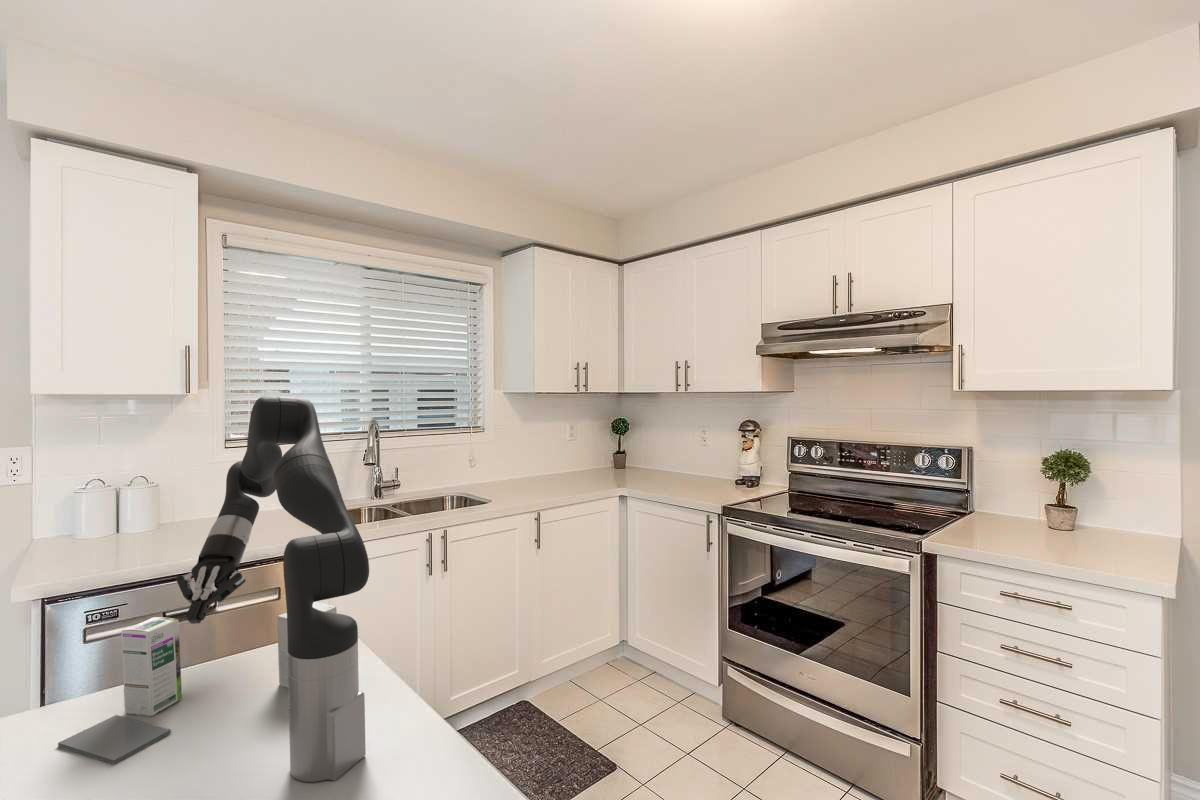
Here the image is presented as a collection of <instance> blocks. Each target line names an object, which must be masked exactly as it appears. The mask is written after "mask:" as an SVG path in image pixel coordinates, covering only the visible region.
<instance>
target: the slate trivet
mask: <svg viewBox="0 0 1200 800" xmlns="http://www.w3.org/2000/svg"><path fill="white" fill-rule="evenodd" d="M171 731H172V730H171V728H165V727H162V726H158V725H155V724H152V723H151V724H150V723H147V722H144V721H140V720H136V719H133V718H129V717H127V716H123V715H119V714H115V715H113V716H112V717H109V718H107V719H105V720H102V721H101V722H99V723H97V724H95V725H92V726H90V727H89V728H86V729H84V730H82V731H79V732H78V733H76V734H74V735H71V736H69V737H67V738H65V739H63V740H61V741H58V743H57V745H58V746H57V747H59V748H61V749H64V750H68V751H71V752H74V753H77V754H80V755H83V756H87V757H90V758H92V759H97V760H100V761H102V762H105V763H108V764H112V765H116V764H118V763H120V762H121V761H123V760H126V758H129V757H130V756H133V755H134V754H135V753H137V752H139V751H141V750H143V749H145V748H147V747H148V745H149V746H151V745H152V744H155V743H156V742H158V741H160V740H161V739H163V738H165V737H167V736H168V735H171V734H172V732H171ZM170 733H171V734H170ZM150 744H151V745H150ZM146 746H147V747H146Z"/></svg>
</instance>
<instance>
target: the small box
mask: <svg viewBox="0 0 1200 800" xmlns="http://www.w3.org/2000/svg"><path fill="white" fill-rule="evenodd" d="M312 607H313V608H315V609H317V610H320V611H323V612H328V613H337V606H334V605H330V604H327V603H323V602H320V601H316V602H313V605H312ZM276 619H277V620H276V621H277V622H276V623H277V651H278V655H277V657H278V676H279V677H278V682H279V686H281V687H284V686H285V687H284V688H288V689H289V686H288V635H287V612H284V613H282V614H279V615H277V617H276Z"/></svg>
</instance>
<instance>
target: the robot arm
mask: <svg viewBox="0 0 1200 800" xmlns="http://www.w3.org/2000/svg"><path fill="white" fill-rule="evenodd" d="M249 416H250V417H249V425H248V433H247V442H246V443H247V445H246V450H245V454H244V456H243V458H242V460H239V461H236V462H235V463H233V464H232V465H231V466H230V468H229V469H228V471H227V473H226V474H227V475H226V479H225V482H226V484H225V496H224V501H223V504H222V507H221V508H220V511H219V513H218V516H217V517H216V520H215V522H214V523H213V525H212V526H211V528H210V530H209V533H208V535H207V537H206V539H205V542H204V543H203V546H202V548H201V550H200V553H199V555H198V560H197V563H196V564H195V565H194V566H193V567H192V568H191V569H190V570H191V571H190V572H188V573H186V574H185V575H182V574H178V576H176V577H175V581H176V582H177V584H178V587H179V589H180V591H181V593H182V596H183V597H184V599H185V600H186V601H188V602H189V604H190V606H189V608H188V610H187V613H186V615H185V617H186V619H187V621H188V622H189V623H190V624H192V625H194V624H196V625H197V624H200V623H201V622H202V621H204V620H205V618H206V616H207V614H208V611H209V609H210V606H211V605H212V604H213V603H216V602H217V603H221V602H223V601H224V600H225V599H227V597H229V596H230V595H232V593H234V592H235V591H237V590H238V588H240V587H241V586H242V585H244V584H245V583H246V582H247V581H246V577H244V575H243V574H242V573H241V572H239V568H238V567H239V566H240V563H241V561H242V558H243V556H244V553H245V551H246V548H247V546H248V544H249V541H250V537H251V534H252V529H253V526H254V524H255V521H256V519H257V517H258V514H259V510H260V504H259V503H258V501H257V500H256V499H254V498H253V497H256V498H257V497H258V498H267V497H270V496H271V495H273V494H274V493H275V492H276V494H277V498H278V502H279V503H280V505H281V507H282V508H283V510H285V511H286V512H287V513H288V514H289V515H290V516H292V517H293V518H294V519H296V520H298V521H300V522H301V523H303V524H305V525H307V526H308V527H310V528H312V529H314V530H316V531H317V532H319V533H320V534H317V535H308V536H301V537H296V538H294V539H291V540H290V541H288V542H287V544H286V546H285V548H284V553H283V559H282V560H283V579H284V580H283V582H284V591H285V592H284V593H285V594H284V595H285V604H286V613H287V635H288V686H289V688H288V727H289V728H288V729H289V730H288V731H289V734H288V735H289V758H290V759H289V767H290V768H289V769H290V774H291V776H292V777H293V778H294V779H296V780H297V781H300V782H305V783H306V782H307V783H308V782H309V783H314V782H320V781H327V780H328V781H336V780H337V779H339V778H340V777H341V776H342V775H344V774H345V773H346V772H348V771H349V769H351V768H353V766H355V765H356V764H357V763H358V762H359V761H360V760H362V759H363V758H365V756H366V755H367V754H366V753H367V752H366V751H367V750H366V749H367V748H366V709H365V708H366V707H365V706H366V705H365V704H366V703H365V702H366V700H365V692H363V691H360V690H359V689H360V688H359V687H360V686H359V684H360V681H359V680H360V679H359V636H358V635H359V632H358V631H359V630H358V623H357V622H356V620H355V619H354V618H353V617H352V616H350V615H347V614H341V613H337V612H336V613H328V612H323V611H320V610H317V609H315V608H313V607H312V605H313V602H320V601H325V600H330V599H335V598H339V597H344V596H348V595H352V594H355V593H357V592H359V591H361V590H362V589H364V588H365V586H366V585H367V583H368V580H369V577H370V562H369V557H368V553H367V549H366V545H365V543H364V541H363V538H362V536H361V534H360V531H359V530H358V528H357V526H356V525H355V522H354V521H353V519H352V517H351V515H350V513H349V511H348V509H347V507H346V504H345V502H344V499H343V496H342V492H341V490H340V486H339V484H338V480H337V477H336V473H335V470H334V469H333V468H334V467H333V465H332V463H331V461H330V459H329V456H328V454H327V452H326V448H325V445H324V443H323V439H322V435H321V434H322V433H321V430H320V425H319V420H318V416H317V412H316V408H315V406H314V404H313V402H311V401H310V400H309V399H307V398H304V397H293V396H274V395H273V396H271V395H268V396H262V397H259V398H258V399H256V401H255V402H254V404H253V405H252V407H251V411H250V415H249ZM280 444H281V445H283V444H284V445H285V444H286V445H289V444H290V445H292V444H293V446H291V447H290V448H289V449H288V450H287V451H285V453H284V454H283V453H282V451H283V450H282V448H281V446H280ZM249 495H250V496H249ZM251 496H253V497H251ZM193 581H194V583H195V585H194V591H193V589H192V587H191V586H193Z"/></svg>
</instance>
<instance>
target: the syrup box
mask: <svg viewBox="0 0 1200 800" xmlns="http://www.w3.org/2000/svg"><path fill="white" fill-rule="evenodd" d="M120 633H121V634H120V636H121V637H120V638H121V641H120V642H121V659H122V661H121V663H122V676H123V678H122V679H123V680H122V681H123V696H124V697H123V700H124V713H126V714H129V715H133V714H137V715H136V716H141V715H147V716H146V717H150V716H152V717H154V716H155V715H157V714H158V713H160V712H161V711H163V710H164V709H166V708H168V707H170V706H172V705H173V704H175V703H177V702H179V701H181V700H182V699H183V695H182V693H183V692H182V671H181V669H182V668H181V666H182V665H181V650H180V649H181V648H180V646H181V645H180V643H181V642H180V623H179V619H178V618H174V617H173V618H172V617H167V616H166V617H164V616H160V617H159V616H157V617H156V616H152V617H151V618H149V619H147V620H145V621H142V622H139V623H137V624H134V625H133V626H130V627H128V628H124V629H122V630H121V631H120ZM180 699H181V700H180ZM159 711H160V712H159ZM153 715H154V716H153Z"/></svg>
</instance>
